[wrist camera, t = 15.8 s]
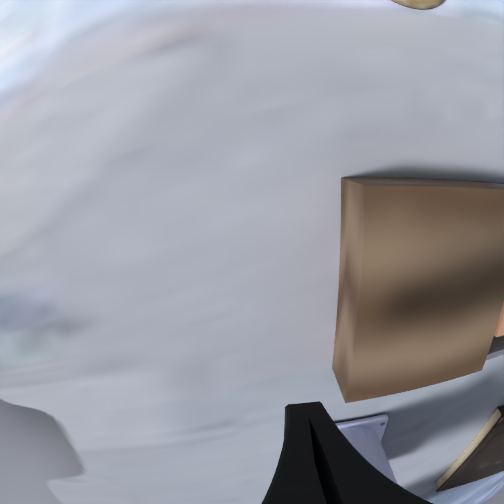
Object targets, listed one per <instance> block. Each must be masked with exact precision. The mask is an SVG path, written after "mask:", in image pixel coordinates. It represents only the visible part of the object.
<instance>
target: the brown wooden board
mask: <svg viewBox="0 0 504 504" xmlns="http://www.w3.org/2000/svg"><path fill="white" fill-rule="evenodd" d="M503 302H504V187H503V186H499V185H495V184H491V183H487V182H476V181H460V180H441V179H415V178H341V248H340V273H339V292H338V308H337V322H336V334H335V346H334V356H333V366H332V369H333V371H334V374H335V376H336V379H337V382H338V384H339V387H340V390H341V393H342V395H343V398H344V401H345V403H348V402H354V401H360V400H366V399H371V398H377V397H382V396H387V395H391V394H396V393H401V392H405V391H410V390H414V389H418V388H422V387H426V386H430V385H434V384H437V383H441V382H445V381H448V380H452V379H455V378H459V377H462V376H465V375H468V374H472V373H475V372H478V371H481V370H482V368H483V366H484V363H485V360H486V357H487V355H488V352H489V349H490V346H491V343H492V340H493V337H494V334H495V330H496V327H497V324H498V320H499V317H500V313H501V310H502V306H503Z"/></svg>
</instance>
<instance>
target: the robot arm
mask: <svg viewBox="0 0 504 504" xmlns="http://www.w3.org/2000/svg"><path fill="white" fill-rule="evenodd" d="M387 422H388V416H387V415H386V414H385V415H379V416H374V417H369V418H364V419H359V420H353V421H347V422H341V423H334V421H333V420H332V419H331V417H330V416H329V414H328V413H327V411H326V409H325V408H324V406H323V404H322V403H321V402H310V403H300V404H288V405H287V406H286V407H285V427H284V442H283V447H282V451H281V455H280V459H279V462H278V465H277V468H276V471H275V474H274V477H273V479H272V482H271V484H270V487H269V489H268V491H267V494H266V496H265V498H264V500H263V502H262V504H433V503H430V502H428V501H426V500H424V499H422V498H420V497H418V496H416V495H414V494H412V493H411V492H409V491H407V490H405V489H404V488H402V487H401V486H399V485H398V484H397V482H396V479H395V477H394V474H393V471H392V469H391V466H390V464H389V462H388V459H387V457H386V454H385V452H384V449H383V447H382V444H381V440H382V437H383V434H384V431H385V428H386V425H387Z"/></svg>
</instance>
